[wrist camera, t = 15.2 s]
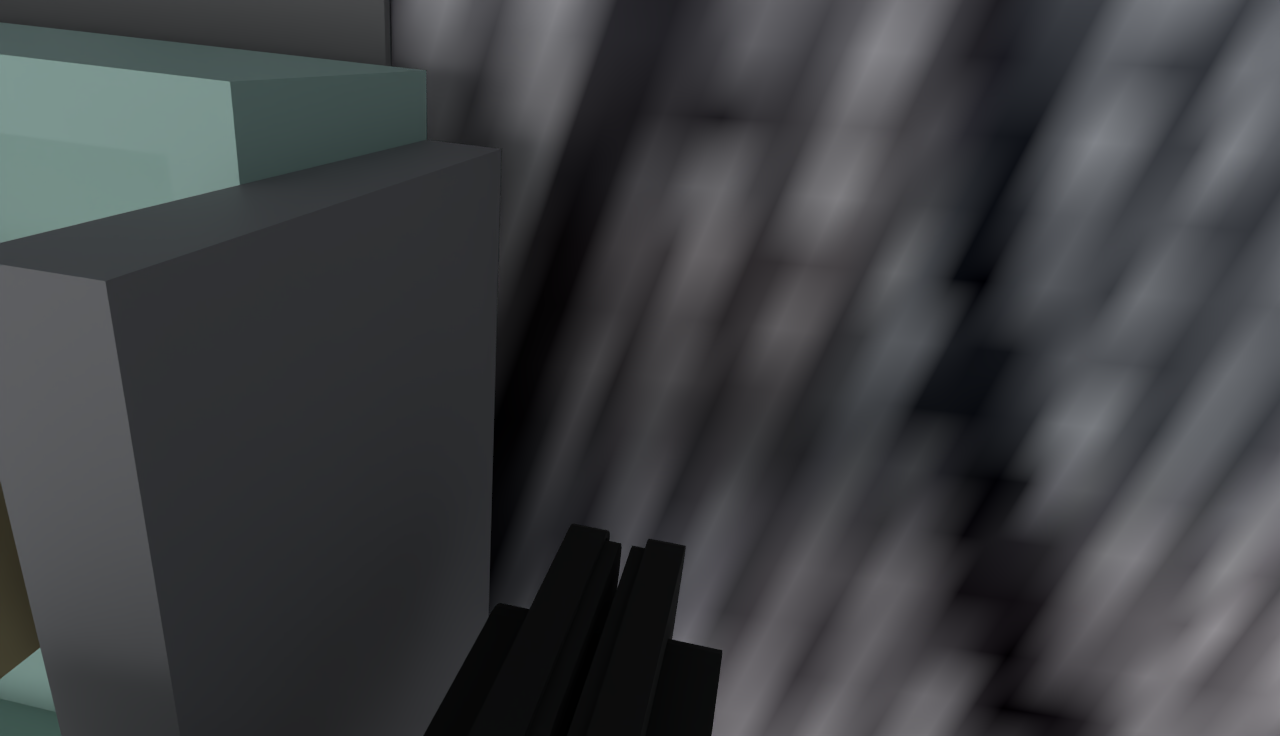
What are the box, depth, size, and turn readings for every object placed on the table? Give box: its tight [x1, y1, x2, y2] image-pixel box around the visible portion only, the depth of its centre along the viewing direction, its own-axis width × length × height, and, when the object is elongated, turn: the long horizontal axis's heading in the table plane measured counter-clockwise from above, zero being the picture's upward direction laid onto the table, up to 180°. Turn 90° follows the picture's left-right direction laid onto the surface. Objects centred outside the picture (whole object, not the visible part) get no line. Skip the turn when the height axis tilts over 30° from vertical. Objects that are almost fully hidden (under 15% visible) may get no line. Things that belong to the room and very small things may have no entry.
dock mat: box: [0, 0, 391, 66], centre depth 18 cm, size 18×16×1 cm
